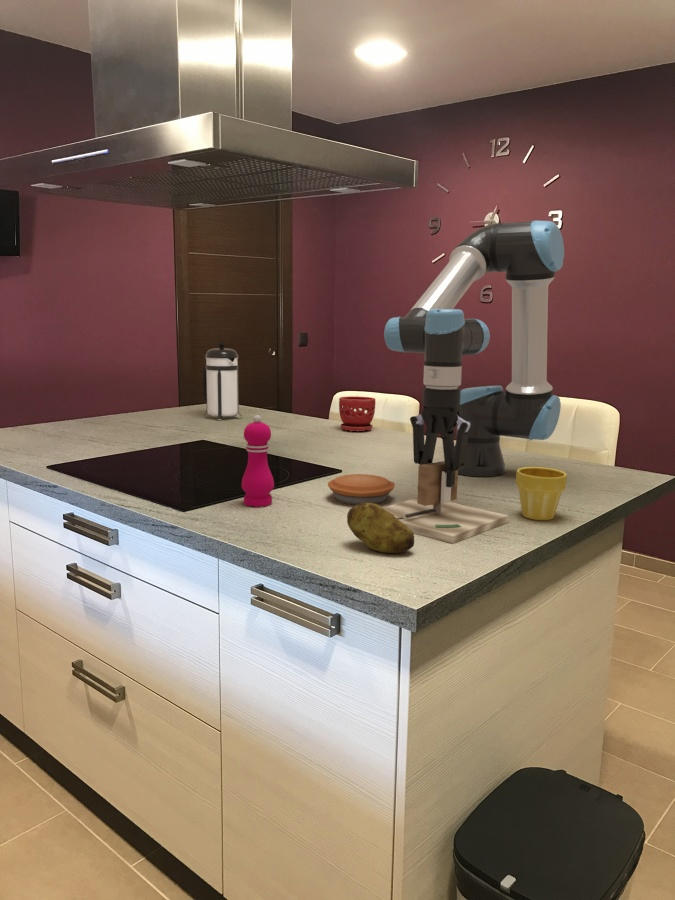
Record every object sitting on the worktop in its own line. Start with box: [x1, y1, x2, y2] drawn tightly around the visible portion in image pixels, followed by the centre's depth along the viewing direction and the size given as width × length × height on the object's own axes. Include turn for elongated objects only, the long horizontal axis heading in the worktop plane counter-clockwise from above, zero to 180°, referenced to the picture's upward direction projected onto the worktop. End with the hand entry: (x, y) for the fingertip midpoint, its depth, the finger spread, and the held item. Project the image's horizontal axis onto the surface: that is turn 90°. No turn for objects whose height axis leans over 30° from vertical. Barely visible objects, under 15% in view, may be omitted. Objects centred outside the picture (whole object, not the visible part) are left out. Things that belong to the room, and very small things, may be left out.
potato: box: [346, 502, 415, 554], centre depth 132 cm, size 8×13×8 cm, turn 38°
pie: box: [327, 473, 396, 506], centre depth 167 cm, size 15×16×5 cm
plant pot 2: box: [515, 466, 568, 521], centre depth 154 cm, size 10×10×10 cm
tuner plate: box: [382, 497, 510, 545], centre depth 150 cm, size 20×22×2 cm
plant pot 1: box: [338, 396, 376, 432], centre depth 262 cm, size 13×13×12 cm
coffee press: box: [202, 341, 243, 420], centre depth 284 cm, size 17×16×30 cm
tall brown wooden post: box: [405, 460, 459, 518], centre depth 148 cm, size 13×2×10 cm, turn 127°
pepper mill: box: [241, 414, 275, 508], centre depth 160 cm, size 7×7×20 cm
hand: (437, 499), depth 150 cm, fingers closed on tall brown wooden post, 3 cm apart
